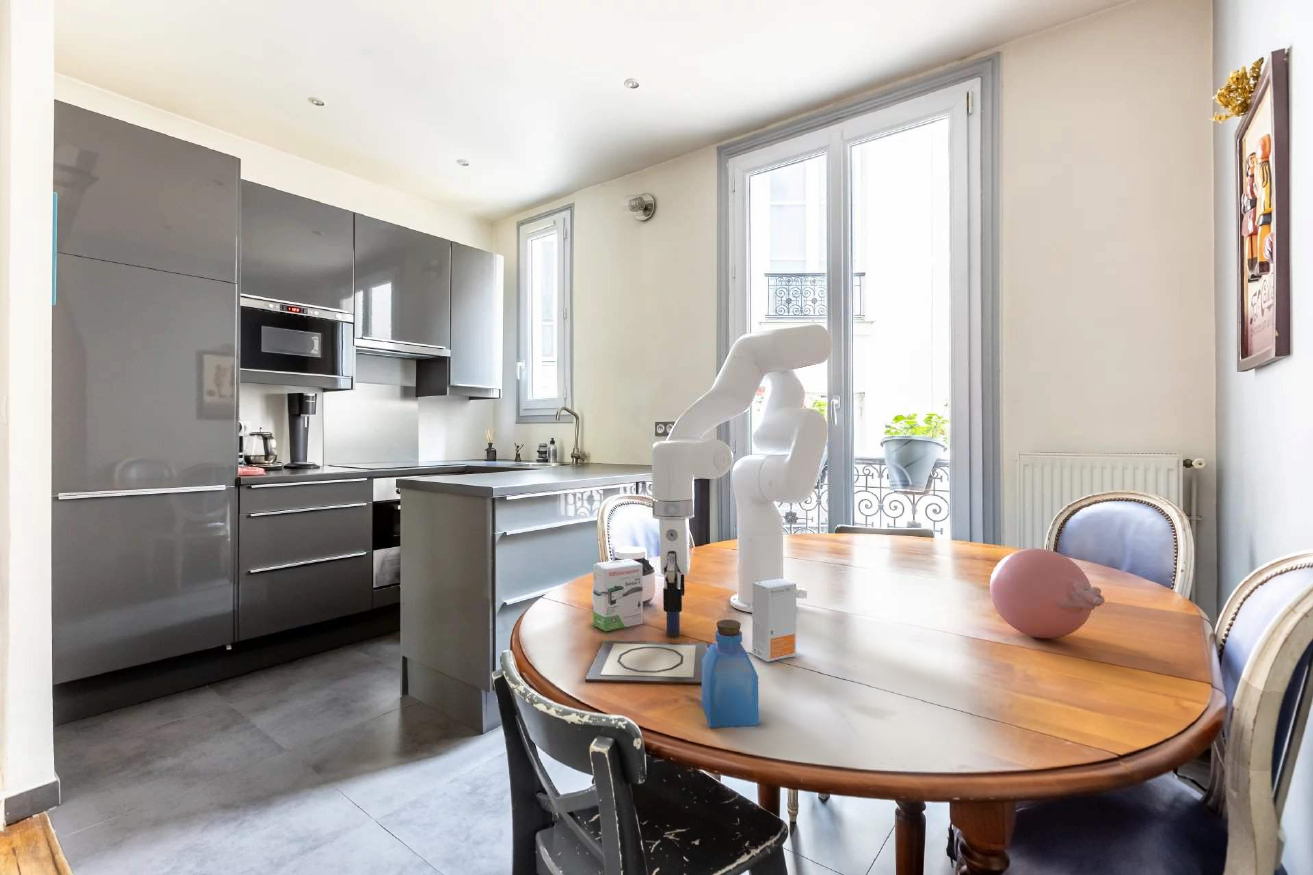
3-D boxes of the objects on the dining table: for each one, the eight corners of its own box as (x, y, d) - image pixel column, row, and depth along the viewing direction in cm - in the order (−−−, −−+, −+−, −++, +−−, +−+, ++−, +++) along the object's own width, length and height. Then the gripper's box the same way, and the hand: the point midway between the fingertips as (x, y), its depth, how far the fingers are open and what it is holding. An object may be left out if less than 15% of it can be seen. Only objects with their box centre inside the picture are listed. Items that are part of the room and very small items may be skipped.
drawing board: (707, 645, 104) (707, 641, 104) (706, 684, 88) (706, 680, 88) (604, 642, 106) (604, 639, 106) (585, 681, 90) (585, 677, 90)
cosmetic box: (767, 663, 96) (767, 588, 96) (751, 654, 100) (751, 582, 99) (797, 656, 99) (797, 583, 98) (780, 648, 102) (780, 577, 102)
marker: (680, 632, 110) (679, 578, 110) (679, 637, 108) (679, 581, 108) (667, 632, 111) (666, 578, 111) (666, 637, 108) (665, 581, 108)
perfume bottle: (702, 705, 82) (701, 616, 82) (747, 702, 82) (746, 615, 82) (709, 727, 76) (709, 632, 75) (758, 725, 76) (757, 630, 76)
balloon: (1051, 665, 94) (1052, 566, 94) (971, 623, 114) (971, 542, 114) (1141, 660, 96) (1142, 563, 95) (1047, 620, 115) (1047, 539, 115)
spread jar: (660, 603, 129) (660, 548, 129) (630, 617, 120) (629, 559, 119) (615, 595, 136) (614, 543, 135) (583, 608, 126) (582, 552, 126)
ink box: (604, 632, 111) (604, 568, 111) (592, 625, 115) (591, 563, 115) (644, 623, 116) (643, 562, 116) (631, 616, 120) (630, 557, 120)
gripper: (692, 516, 100) (693, 618, 101) (695, 502, 117) (696, 590, 118) (647, 516, 101) (649, 617, 101) (656, 502, 118) (658, 589, 119)
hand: (674, 602), depth 110 cm, fingers open, 9 cm apart
